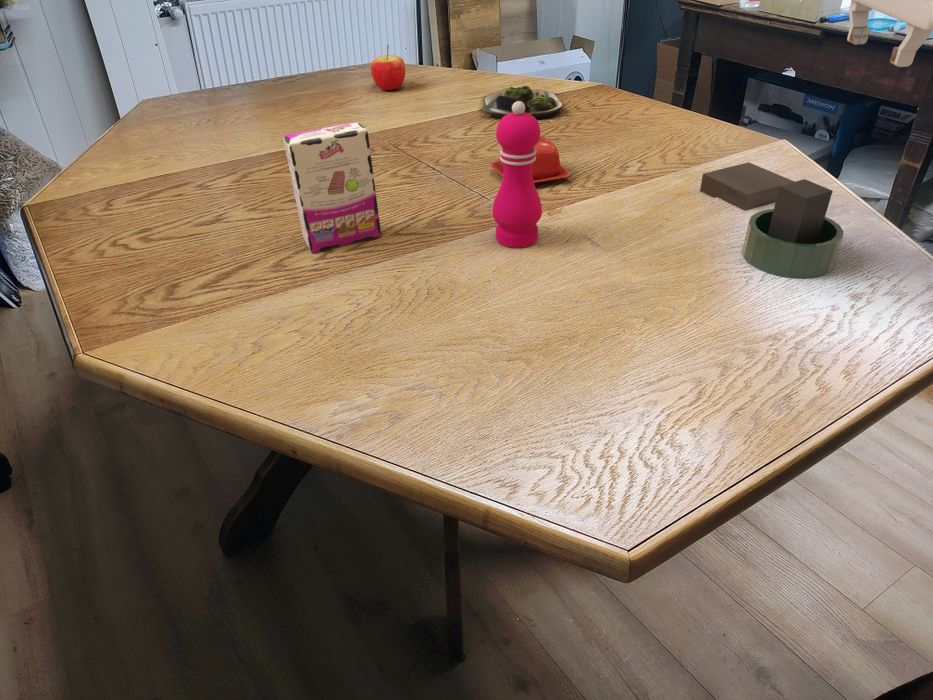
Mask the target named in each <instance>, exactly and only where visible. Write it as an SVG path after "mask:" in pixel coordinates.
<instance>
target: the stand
mask: <svg viewBox="0 0 933 700" xmlns="http://www.w3.org/2000/svg"><path fill="white" fill-rule="evenodd" d="M792 182H796V181H794V180H792V179H790V178H788V177H786V176H782V175H780V174H778V173H775V172H773V171H771V170H768V169H765V168H763V167H761V166H759V165H757V164H754V163H752V162H744V163H740V164H736V165H732V166H728V167H724V168H720V169H715V170H712V171H708V172H704V173H702V177H701V183H700V188H699V189H700V190H699V191H700V192H702V193H704V194H706V195H708V196H709V197H712V198H714V199H716V198H717V199H720V200H721V201H724V202H725V203H728V204H730V205H731V206H734V207H736V208H738V209H740V210H742V211H745V212H746V211H749V210H752V209H756V208H760V207H763V206H767V205H771V204H774V203H776V199H777V195H778V191H779V187H780V186H781V185H785V184H788V183H792Z"/></svg>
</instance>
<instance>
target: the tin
mask: <svg viewBox="0 0 933 700" xmlns="http://www.w3.org/2000/svg"><path fill="white" fill-rule="evenodd" d="M773 211H774V208H768V209H764V210H761V211H760V210H759V211H757V212H755V213H754V214H752V215H751V216H750V218H749V221H748V223H747V228H746V231H745V232H746V233H745V236H744V242H743V245H742V249H741V252H742V256H743V258H744V260H745V261H746V262H747V264H749V265H751V266H752V267H754V268H755V269H757V270H759V271H761V272H764V273H766V274H770V275H773V276H777V277H780V278H788V279H802V280H803V279H805V280H806V279H814V278H819V277H822V276H825V275H827V274H828V273H830V272H831V271H832V270H834V269H833V268H834V266H835V263H836V260H837V257H838V254H839V251H840V247H841V244H842V241H843V238H844V229H843V228H842V227H841V225H840V224H838V223H837V222H836V221H835V220H834V219H831V218H829V217H827V216H825V218H824V222H823V225H822V228H821V232H820V235H819V238H818V242H817V244H797V243H791V242H786V241H782V240H779V239H776V238H772V237H770V236H768V231H769V227H770V223H771V219H772V215H773Z"/></svg>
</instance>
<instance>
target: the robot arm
mask: <svg viewBox="0 0 933 700" xmlns="http://www.w3.org/2000/svg"><path fill="white" fill-rule="evenodd" d="M872 10H874V11H877V12H879V13H881V14H884V15H886V16H888V17H891V18H894V19H896V20H898V21H901V22H903V23H906V26H905V29H904V31H903V32H904V34H905V35H906V36H905V37H904V38H903V40H902V42H901V43H900V44H899V46H894V47H892V52H891V56H890V57H889V63H890V64H892V65H894V66H896V67H898V68H905V67H909V66H911V65H912V64H913V62H914V59H915V56H916V53H917V51H918V50H919V49H920V48H921V46H922V45H924V43H925V42H926V41H927V40H928V38H929V37H930V36H931V34H932V32H933V0H850V5H849V8H848V16H849V17H848V20H849V31H848V34H847V37H846V40H847V42H849V43H850V44H853V45H855V46H857V45H865V44H866V43H867V42H868V39H869V35H870V33H871V30H872V29H871V28H870V27H868V26H869V16H870V15H869V13H870V12H871V11H872Z"/></svg>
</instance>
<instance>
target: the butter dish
mask: <svg viewBox="0 0 933 700" xmlns="http://www.w3.org/2000/svg"><path fill="white" fill-rule="evenodd" d="M534 148H535V149H536V154H535V156H536V160H535V161H534V162H533V164H532V178H533V182H534V184H539V183H545V182H546V183H547V182H551V181H556V180H561V179H565V178H568V177H570V176H571V173H570V172H569V171H568V170H567V169H566V168H565V167H564V166H563V165H561V160H560V153H559V150H558V148H557V145H556V144H554V142H553V141H551V139H549V138H547V137H546V136H544V135H541V134H540V139H539V141H538V143H537V144H536V145H535V146H534ZM500 156H501V154H500V153H499V159H498V160H495V161H492V162H490V166H491V168H492V169H494V171H496V172H497V173H498V174H499V175H500V176H501V177H502V178H503V170H504V169H503V162H502V161H501V160H500Z"/></svg>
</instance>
